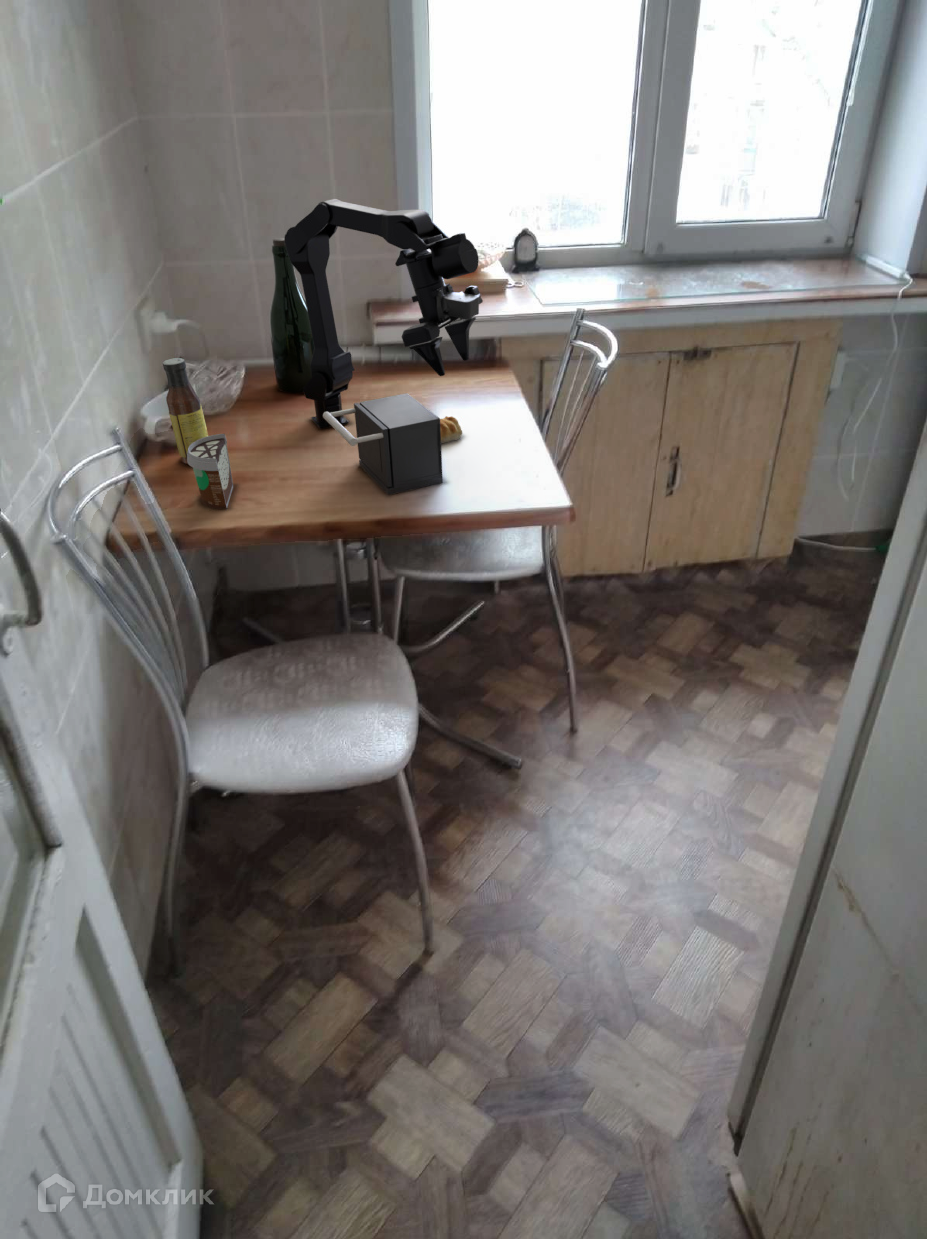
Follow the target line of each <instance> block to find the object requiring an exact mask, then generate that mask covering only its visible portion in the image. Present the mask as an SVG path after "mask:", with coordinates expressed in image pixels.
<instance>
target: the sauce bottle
mask: <svg viewBox="0 0 927 1239" xmlns="http://www.w3.org/2000/svg"><path fill="white" fill-rule="evenodd" d="M162 367H163V370H164V371H165V374H166V379H167V385H168V389H167V394H166V397H165V400H166V405H167V409H168V414H169V418H170V419H169V420H170V422H171V427H172V430H173V431H172V432H173V434H174V438H175V443H176V446H177V450H178V454H179V456H180V459H181V462H182V463H183V464H186V465H189V464H188V463H187V452H188V448H189V446H190V445H191V444H192V443H193V442H195V441H197V440H199V439H201V438H204V437H207V436H209V432H208V428H207V424H206V420H205V415H204V411H203V407H202V403H201V400H200V398H199V397H198V395H197V394H198V393H196V391H195V389H194V387H193V385H192V384H191V382H190V380H189V376H188V372H187V369H186V368H187V364H186V361H185V359H184V358H180V357H174V358H169V359H166V360H164V361H163V362H162Z"/></svg>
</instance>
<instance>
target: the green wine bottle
mask: <svg viewBox="0 0 927 1239" xmlns="http://www.w3.org/2000/svg"><path fill="white" fill-rule="evenodd" d="M270 251H271V256H272V260H273V262H272V263H273V272H274V286H273V293H272V298H271V302H270V307H269V314H268V324H269V325H268V326H269V336H270V344H271V350H272V351H271V352H272V353H271V354H272V360H273V369H274V377H275V383H276V388H278V389H279V390H280V391H282V392H284V393H287V394H304V392H303V387H304V386H305V385H306V384H307V383H308V381H309V380H310V379H311V378H312V377H311V360H312V356H313V353H314V342H313V336H312V331H311V326H310V321H309V316H308V311H307V305H306V300H305V295H304V293H303V292H302V290H301V288H300V285H299V283H298V279H297V276H296V271H295V270H296V269H295V267H294V266H293V264H292V263H291V261H290V259H289V255H288V252H287V249H286V246H285V241H284V237H276V238H275V237H274V238H273V239H272V245H271V250H270Z"/></svg>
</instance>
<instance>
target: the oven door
mask: <svg viewBox="0 0 927 1239" xmlns="http://www.w3.org/2000/svg"><path fill="white" fill-rule="evenodd" d="M352 414H354V421H355V430H356V437H355V436H354V435H353V434H352V433H351V432H350V431H349V430H348V429H347V428H346V427H344V426H343V425H341V424H340V423H339V422H338V421H337V420H336V419H335V418H334V417H337V416H342V415H343V416H346V415H347V416H348V415H352ZM323 418H324V419H325V420H326V421H327V422H328V423H329V424H330V425H331V426H332V427H331V428H333V429H334V430H335V431H336V432H337V433H338V434H339V435H340V436H341V437H342V438H343V439H344V440H345V441H346V442H347V443H348V444H349V445H350V446H351V447H356V445H357V452H358V460H361V461H362V462H363V463H364V464H365V465H366V466H367V467H368V468H369V469H370V470H371V471H372V472H373V473H374V474H375V475H376V476H377V477H378V478H379V479H380V480H381V481H382V482H383V483H384V484H385V485H386V486H387V487H391V486H392V479H391V466H390V453H389V440H388V429H387V428H386V427H385V426H384V425H383V424H382V423H380V422H379V421H378V420H377V419H376V418H375V417H374V416H372V415H371V414H370V413H369V412H368V411H367V410H366V409H365V408H363V407H362V406H361V405H360V402H355V403H353V408H348V409H342V411H337V412H331V413H329V412H324V413H323Z"/></svg>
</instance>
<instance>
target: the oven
mask: <svg viewBox="0 0 927 1239" xmlns="http://www.w3.org/2000/svg"><path fill="white" fill-rule="evenodd" d="M359 404H360V405H361V406H362V407H363V408H365V409H366V410H367V411H368V412H369V413H370V414H371V415H372V416H374V417H375V418H376V419H377V420H378V421H379V422H380V423H382V424H383V425H384V426H385V427H386V428H387V429H388V440H389V453H390V466H391V479H392V486H391V487H387V486H386V485H385V484H384V483H383V482H382V481H381V480H380V479H379V478H378V477H377V476H376V475H375V474H374V473H373V472H372V471H371V470H370V469H369V468H368V467H367V466H366V465H365V464H364V463H363V462H362V461H361V460H360V459H358V464H359V466H360V468H361V469H362V470H363V471H364V472H365V473H366V474H367V475H368V476H369V477H370V478H371V479H372V480H373V481H374V482H375V483H376V485H378V486H379V487H380V488H381V489H382V490H383V492H385V493H386V494H387V495H388V496H392V495H395V494H399V493H403V492H408V491H411V490H417V489H421V488H425V487H430V486H434V485H439V484H443V483H444V478H443V458H442V456H443V455H442V443H441V431H440V419H441V418H440V417H439V416H437V415H436V414H435V413H434V412H432V411H431V410H430V409H428V408H427V407H426V406H425V405H423V404H422V403H421V402H420V401H418V400H417V399H416V398H414V397H413V396H412V395H410V394H409V393H407V392H406V393H401V394H397V395H389V396H387V397H386V396H385V397H379V398H374V399H370V400H365V401H364V400H363V401H359Z"/></svg>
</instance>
